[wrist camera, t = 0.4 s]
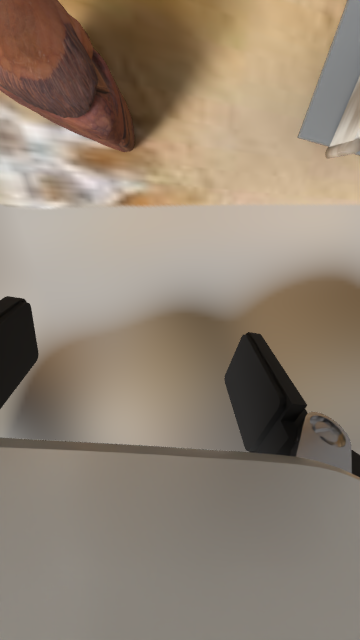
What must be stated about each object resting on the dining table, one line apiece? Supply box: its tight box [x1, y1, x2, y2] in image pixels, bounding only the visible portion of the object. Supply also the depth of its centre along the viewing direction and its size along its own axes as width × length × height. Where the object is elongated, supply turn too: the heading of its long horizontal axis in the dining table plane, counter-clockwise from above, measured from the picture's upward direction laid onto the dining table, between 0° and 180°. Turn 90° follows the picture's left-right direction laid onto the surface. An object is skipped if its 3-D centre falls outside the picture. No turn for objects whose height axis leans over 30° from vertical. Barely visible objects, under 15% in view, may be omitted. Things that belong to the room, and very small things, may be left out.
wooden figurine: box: [0, 0, 134, 152], centre depth 19 cm, size 12×6×18 cm, turn 69°
